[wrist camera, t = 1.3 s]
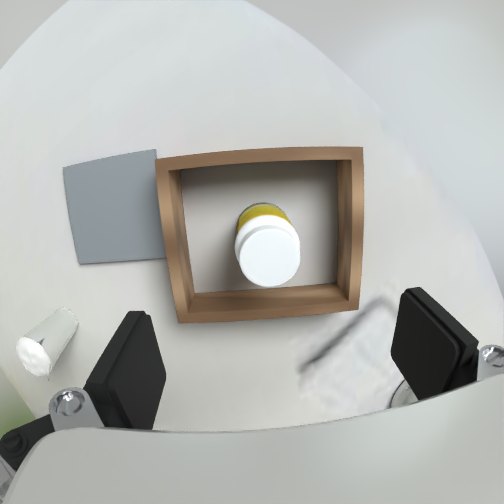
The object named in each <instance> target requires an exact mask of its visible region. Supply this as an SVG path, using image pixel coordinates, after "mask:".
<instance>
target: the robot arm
mask: <svg viewBox="0 0 504 504" xmlns="http://www.w3.org/2000/svg"><path fill="white" fill-rule="evenodd" d="M478 343H479V341H478V340H477V339H476V338H475V337H474V336H473V335H472V334H471V333H470V332H469V331H468V330H467V329H465V328H464V327H463V326H462V325H461V324H460V323H459V322H458V321H457V320H456V319H455V318H454V317H453V316H452V315H451V314H450V313H449V312H447V311H446V310H445V309H444V308H443V307H442V306H441V305H440V304H439V303H438V302H437V301H435V300H434V299H433V298H432V297H431V296H430V295H429V294H428V293H426V292H425V291H424V290H423V289H422V288H420V287H415V288H409V289H406V290H405V292H404V293H402V295H401V298H400V304H399V310H398V316H397V322H396V327H395V332H394V337H393V342H392V347H391V357H392V359H393V361H394V362H395V364H396V365H397V367H398V369H399V370H400V372H401V373H402V375H403V376H404V378H405V381H404V382H403V383H402V384H401V386H400V387H399V388H398V390H397V391H396V393H395V395H394V397H393V399H392V403H391V408H390V409H386V410H382V411H378V412H373V413H369V414H364V415H360V416H355V417H350V418H345V419H339V420H333V421H327V422H321V423H315V424H308V425H300V426H292V427H282V428H272V429H260V430H244V431H216V432H192V431H161V430H152V428H153V424H154V421H155V417H156V413H157V410H158V406H159V402H160V399H161V395H162V392H163V388H164V385H165V381H166V371H165V367H164V364H163V361H162V357H161V354H160V350H159V347H158V343H157V339H156V336H155V332H154V328H153V324H152V320H151V317H150V315H146V313H145V312H144V311H129V312H128V313H127V315H126V316H125V318H124V319H123V321H122V322H121V324H120V326H119V327H118V329H117V330H116V332H115V334H114V335H113V337H112V339H111V340H110V342H109V344H108V345H107V347H106V349H105V350H104V352H103V354H102V355H101V357H100V359H99V360H98V362H97V364H96V365H95V367H94V369H93V371H92V372H91V374H90V376H89V378H88V379H87V381H86V384H85V386H84V388H83V389H81V388H76V387H74V388H67V389H63V390H61V391H59V392H58V393H57V394H55V395H54V396H53V398H52V399H51V400H50V403H49V412H50V414H48V415H46V416H44V417H41V418H39V419H37V420H34V421H32V422H30V423H28V424H25V425H23V426H21V427H18V428H16V429H13V430H11V431H9V432H7V433H6V434H5V435H4V436H3V437H2V438H1V440H0V504H504V348H503V347H501V346H497V345H486V346H484V347H482V348H481V349H480V351H479V350H478V349H477V346H478Z"/></svg>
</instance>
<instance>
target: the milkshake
mask: <svg viewBox="0 0 504 504" xmlns="http://www.w3.org/2000/svg"><path fill="white" fill-rule="evenodd" d="M77 326H78V320H77V318H76V315H75V314H74V313H73V312H72V311H71V310H70V309H67V308H64V307H62V308H60V309H58V310H56V311H55V312H54V313H52V314H51V315H50V316H49V317H47V318H46V319H45V320H44V321H42V322H41V323H40V324H39V325H38V326H36V327H35V328H34V329H32V330H31V331H29V332H28V333H27V334H26V335H24V336H23V337H22V338H20V339H19V340H18V342H17V345H16V350H17V355H18V358H19V360H20V361H21V363H22V364H23V366H24V367H25V369H27V370H28V371H30V372H31V373H32V374H33V375H35V376H45V375H48V380H49V377H50V372H51V370H52V368H53V366H54V365H55V363H56V361H57V359H58V358H59V356H60V354H61V353H62V351H63V349H64V348H65V346H66V345H67V343H68V342H69V340H70V339H71V337H72V336H73V334H74V333H75V331H76V330H77Z"/></svg>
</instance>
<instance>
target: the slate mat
mask: <svg viewBox="0 0 504 504" xmlns="http://www.w3.org/2000/svg"><path fill="white" fill-rule="evenodd" d="M154 159H157V157H156V149H152V150H146V151H140V152H134V153H128V154H123V155H117V156H112V157H107V158H102V159H97V160H93V161H88V162H84V163H79V164H75V165H71V166H67V167H63V174H64V183H65V190H66V198H67V204H68V211H69V217H70V223H71V228H72V233H73V238H74V243H75V248H76V253H77V257H78V262H79V264H84V263H98V262H112V261H127V260H141V259H155V258H167V256H166V250H165V243H164V237H163V230H162V222H161V215H160V207H159V199H158V190H157V181H156V171H155V161H154Z"/></svg>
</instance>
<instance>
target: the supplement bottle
mask: <svg viewBox="0 0 504 504" xmlns="http://www.w3.org/2000/svg"><path fill="white" fill-rule="evenodd" d="M234 247H235V255H236V258H237V260H238V262H239V264H240V267H241V270H242V272H243V274H244V275H245V276H246V277H247V278H248V279H249V280H250V281H251V282H253V283H254V284H257V285H259V286H263V287H274V286H278V285H281V284H283V283H285V282H287V281H288V280H289V279H291V278H292V277H293V275H294V274H295V273H296V271H297V269H298V267H299V264H300V241H299V237H298V235H297V233H296V231H295V229H294V227H293V226H292V224H291V223H290V221H289V219H288V218H287V216H286V214H285V213H284V212H283V211H282V210H281V209H280V208H279V207H278V206H276V205H274V204H271V203H266V202H260V203H256V204H253V205H251V206H249V207H247V208H246V209H245V210H244V211H243V212H242V214H241V215H240V217H239V219H238V222H237V227H236V235H235V245H234Z"/></svg>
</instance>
